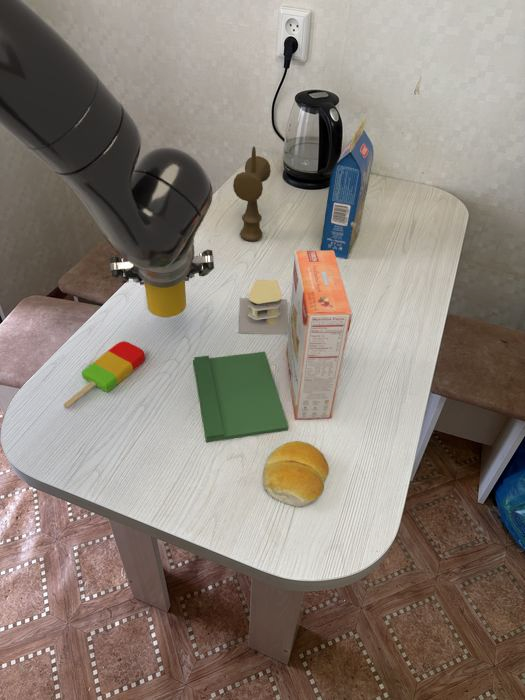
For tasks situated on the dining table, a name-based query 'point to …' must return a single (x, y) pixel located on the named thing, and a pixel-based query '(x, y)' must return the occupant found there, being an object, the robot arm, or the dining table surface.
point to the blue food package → (347, 194)
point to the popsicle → (110, 369)
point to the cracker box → (316, 333)
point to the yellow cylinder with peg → (166, 299)
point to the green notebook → (238, 396)
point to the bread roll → (295, 473)
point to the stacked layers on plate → (264, 310)
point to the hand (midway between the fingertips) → (163, 276)
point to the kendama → (252, 194)
